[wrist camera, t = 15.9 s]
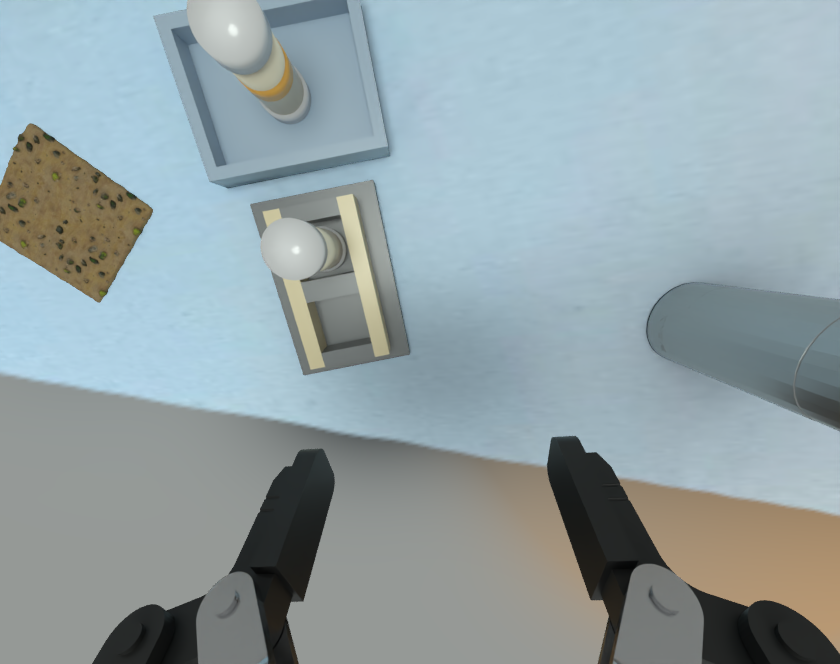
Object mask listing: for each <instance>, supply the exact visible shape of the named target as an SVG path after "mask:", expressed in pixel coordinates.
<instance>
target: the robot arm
mask: <svg viewBox="0 0 840 664" xmlns="http://www.w3.org/2000/svg"><path fill="white" fill-rule="evenodd" d="M647 333H648V339H649V342H650V345H651V346H652V348H653V349H654V351H655V352H657V353H658V354H659V355H660V356H662V357H664V358H667V359H669V360H671V361H674V362H676V363H678V364H681V365H683V366H686V367H688V368H690V369H692V370H695V371H697V372H699V373H702V374H704V375H707V376H709V377H711V378H714V379H716V380H719V381H721V382H723V383H726V384H728V385H730V386H733V387H735V388H738V389H740V390H742V391H745V392H747V393H749V394H752V395H754V396H757V397H759V398H761V399H764V400H766V401H769V402H771V403H773V404H776V405H778V406H780V407H783V408H785V409H788V410H790V411H792V412H795V413H797V414H799V415H802V416H804V417H807V418H809V419H811V420H814V421H817V422H819V423H821V424H824V425H826V426H829V427H831V428H833V429H836V430H838V431H840V299H832V298H823V297H815V296H806V295H798V294H789V293H781V292H772V291H764V290H756V289H747V288H739V287H732V286H723V285H714V284H706V283H688V284H683V285H681V286H678V287H676V288H674V289H673V290H671V291H669V292H668V293H667V294H666V295H664V296H663V297H662V298H661V299H660V300H659V302H658V303H657V304H656V306H655V307H654V309H653V311H652V313H651V315H650V318H649V321H648V328H647ZM547 470H548V476H549V481H550V484H551V487H552V490H553V493H554V496H555V499H556V502H557V504H558V507H559V510H560V513H561V516H562V519H563V522H564V525H565V528H566V530H567V533H568V536H569V539H570V542H571V544H572V548H573V550H574V553H575V556H576V559H577V562H578V565H579V568H580V571H581V574H582V577H583V579H584V582H585V585H586V588H587V591H588V593H589V596H590V599H591V600H603V601H604V604H605V607H606V609H607V612H608V614H609V618H608V622H607V626H606V630H605V634H604V638H603V643H602V647H601V652H600V655H599V660H598V664H840V654H839V653H838V651H837V650H836V648H835V647H834V646H833V645H832V643H831V642H830V641H829V640H828V638H827V637H826V636H825V635H824V634H823V633H822V632H821V631H820V630H819V629H818V628H817V627H816V626H815V625H814V624H812V623H811V622H810V621H809V620H807V619H806V618H805V617H803V616H802V615H800V614H799V613H797V612H796V611H794V610H792V609H790V608H789V607H786V606H784V605H782V604H779V603H776V602H773V601H766V600H764V601H757V602H755V603H753V604H752V605H751V606H749V607H747V606H744V605H741V604H738V603H735V602H732V601H729V600H726V599H723V598H720V597H717V596H714V595H710V594H707V593H705V592H702V591H700V590H698V589H696V588H694V587H692V586H690V585H689V584H687V583H686V582H684V581H683V580H682V579H681V578H679V577H678V576H677V575H676V574H675V573H674V572H673V571H672V570H671V569H670V568H669V567H668V566H667V565H666V563H665V562H664V561H663V559H662V558H661V556H660V555H659V553H658V551H657V549H656V547H655V546H654V544H653V542H652V540H651V538H650V537H649V535H648V533H647V531H646V529H645V527H644V526H643V524H642V522H641V520H640V518H639V516H638V515H637V513H636V511H635V509H634V507H633V506H632V504H631V502H630V501H629V500H628V497H627V495H626V493H625V491H624V489H623V487H622V486H620V482H619V480H618V478H617V477H616V475H615V473H614V471H613V469H612V467H611V466H610V465H609V464H608V463H607V462H606V461H605V460H604V459H603V458H602V457H601V456H600V455H599V454H598V453H596V452H594V453H586V452H585V450H584V448H583V446H582V444H581V442H580V440H579V439H578V438H577V437H576V436H566V437H552V439H551V444H550V450H549V457H548V463H547ZM334 482H335V481H334V473H333V471H332V469H331V466H330V464H329V461H328V459H327V457H326V455H325V452H324V450H323V449H307V450H300V451H299V452H298V454H297V456H296V458H295V461H294V463H293V465H292V466H290V467H289V466H288V467H285V468H284V469H283V470H282V471H281V472H280V473H279V475H278V476H277V477H276V478H275V479H274V480H273V482H272V485H271V487H270V489H269V491H268V493H267V495H266V499H265V500H264V502H263V504H262V507H261V508H260V513H258V515H257V517H256V519H255V522H254V524H253V526H252V528H251V530H250V532H249V535H248V537H247V539H246V541H245V544H244V545H243V548H242V550H241V552H240V554H239V556H238V558H237V561H236V563H235V565H234V567H233V568H232V570H231V571H230V573H229V574H228V575H227V576H225V577H223V578H222V579H221V580H219V581H218V582H217V583H216V584H215V585H214V586H213V587H212V588H211V589H210V590H209V592H208V593H207V594H206V595H204V596H202V597H200V598H197V599H195V600H192V601H190V602H187V603H185V604H182V605H180V606H177V607H175V608H172V609H170V610H167V611H166V610H164V609H163V608H162V607H160V606H158V605H153V604H151V605H146V606H144V607H141V608H139V609H138V610H136V611H134V612H133V613H131V614H130V615H129V616H128V617H126V618H125V619H124V620H123V621H122V622H121V623H120V624H119V625H118V626H117V627H116V628H115V629H114V631H113V632H112V633H111V634H110V636H109V637H108V639H107V640H106V642H105V643H104V645H103V647H102V648H101V650H100V652H99V653H98V655H97V657H96V658H95V660H94V662H93V663H92V664H299V663H298V658H297V655H296V651H295V647H294V643H293V639H292V635H291V631H290V628H289V624H288V620H287V617H286V616H287V613H288V609H289V606H290V603H291V602H295V601H296V602H298V601H303V600H304V597H305V593H306V589H307V586H308V582H309V578H310V575H311V571H312V567H313V564H314V561H315V557H316V553H317V550H318V546H319V542H320V539H321V535H322V531H323V528H324V524H325V521H326V517H327V513H328V510H329V506H330V502H331V499H332V495H333V491H334V484H335V483H334Z"/></svg>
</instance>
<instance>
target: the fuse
mask: <svg viewBox="0 0 840 664" xmlns="http://www.w3.org/2000/svg"><path fill="white" fill-rule="evenodd" d="M261 254H262V257H263V259H264V261H265V263H266V265H267V266H268V268H269V269H270V270H271V271H272V272H273V273H275V274H276V275H278V276H279V277H281V278H284V279H287V280H302V279H306V278H309V277H312V276H314V275H316V274H317V273H318V272H320V271H321V272H328V271H332V270H335V269H337V268H339V267H340V266H341V265H342V264H343V263H344V262H345V260H346V258H347V254H348V248H347V244H346V241H345V239H344V237H343V236H342V235H341V234H340V233H339V232H338V231H336V230H334V229H332V228H328V227H323V226H319V227H315V226H313V225H312V224H310V223H308V222H306V221H302V220H299V219H295V218H282V219H278V220H276V221H274V222H273V223H271V224H270V225H269V226H268V227H267V228H266V230H265V231H264V233H263V235H262V238H261Z"/></svg>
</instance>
